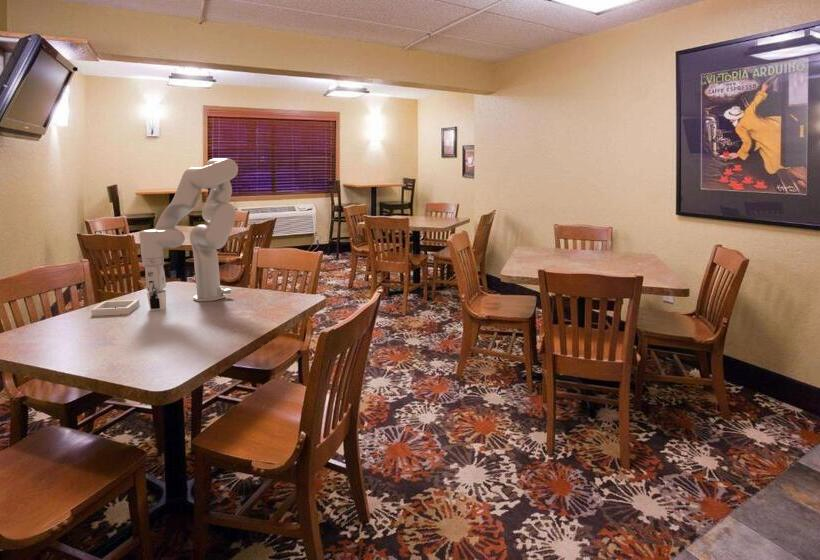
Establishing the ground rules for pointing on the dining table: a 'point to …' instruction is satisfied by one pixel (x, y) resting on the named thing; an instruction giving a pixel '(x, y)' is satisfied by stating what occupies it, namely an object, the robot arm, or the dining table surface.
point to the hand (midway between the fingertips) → (157, 305)
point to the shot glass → (161, 299)
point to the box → (110, 309)
